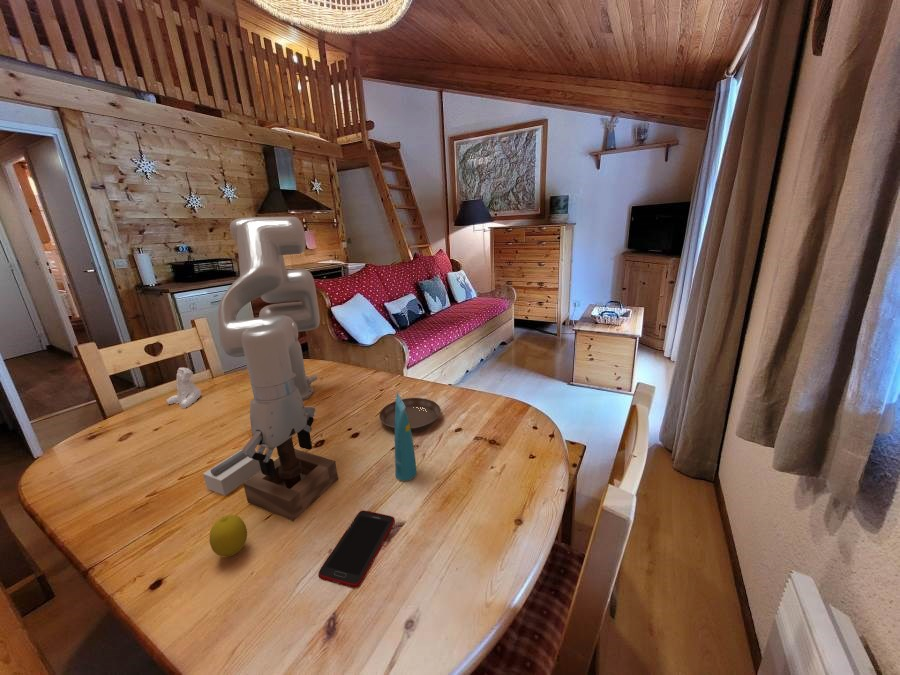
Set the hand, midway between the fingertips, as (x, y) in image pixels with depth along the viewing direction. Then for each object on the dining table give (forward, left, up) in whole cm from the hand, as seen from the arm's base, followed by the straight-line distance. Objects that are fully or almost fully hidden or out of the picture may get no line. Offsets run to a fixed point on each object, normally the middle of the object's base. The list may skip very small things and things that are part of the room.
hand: (288, 460), depth 77 cm
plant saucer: (-35, +9, -8) cm, 37 cm away
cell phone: (+6, +22, -8) cm, 24 cm away
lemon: (+16, +2, -8) cm, 18 cm away
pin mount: (+2, -16, -8) cm, 18 cm away
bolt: (0, 0, -7) cm, 7 cm away
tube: (-14, +20, -8) cm, 26 cm away
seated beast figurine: (-18, -67, -8) cm, 70 cm away
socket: (0, 0, -8) cm, 8 cm away
